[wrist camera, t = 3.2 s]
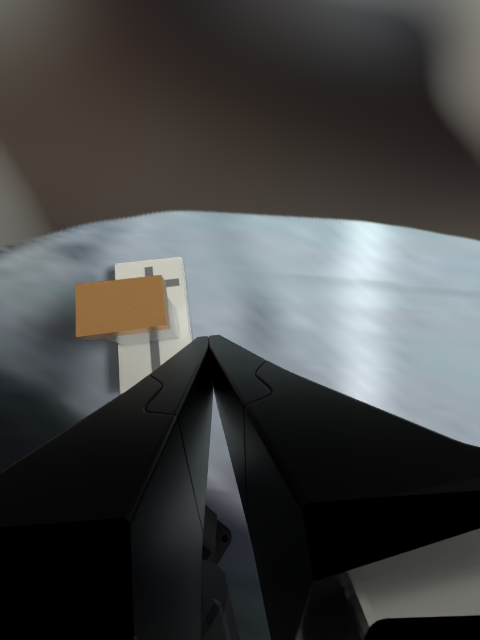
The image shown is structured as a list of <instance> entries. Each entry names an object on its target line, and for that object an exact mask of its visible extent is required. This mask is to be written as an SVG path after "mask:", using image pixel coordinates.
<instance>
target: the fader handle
mask: <svg viewBox="0 0 480 640" xmlns="http://www.w3.org/2000/svg"><path fill="white" fill-rule="evenodd" d="M76 337H77V338H81V339H84V340H94V339H102V338H105V339H108V340H111V341H114V342H117V343H120V344H122V345H125V346H130V345H137V344H144V343H151V342H159V341H166V340H173V339H180V334H179V324H178V314H177V310H176V308H175V307H174V305H173V304H172V302H171V301H170V299H169V298H168V296H167V289H166V282H165V280H164V278H163V277H162V275H154V276H146V277H137V278H128V279H119V280H110V281H101V282H92V283H84V284H76Z"/></svg>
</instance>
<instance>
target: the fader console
mask: <svg viewBox="0 0 480 640" xmlns="http://www.w3.org/2000/svg"><path fill="white" fill-rule="evenodd" d="M154 275H162V277H163V278H164V280H165V282H166V289H167V296H168V298H169V299H170V301H171V302H172V304H173V305H174V307H175V308H176V310H177V314H178V324H179V334H180V339H173V340H166V341H159V342H151V343H144V344H137V345H130V346H125V345H122V344H120V343H118V355H119V379H120V394H121V393H124V392H125V391H127V390H128V389H130V388H131V387H132V386H134V385H135V384H137V383H138V382H139V381H141V380H142V379H143V378H145V377H146V376H147V375H149V374H150V373H152V372H153V371H154V370H156V369H157V368H158V367H159V366H161V365H162V364H163V363H165V362H166V361H167V360H169V359H170V358H171V357H172V356H174V355H175V354H176V353H178V352H179V351H180V350H181V349H183V348H184V347H185V346H187V345H188V344H189V343H191V342H192V336H191V327H190V318H189V309H188V299H187V290H186V281H185V272H184V264H183V261H182V258H181V257H175V258H165V259H156V260H146V261H137V262H128V263H118V264H115V280H119V279H128V278H137V277H146V276H154Z"/></svg>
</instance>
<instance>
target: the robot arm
mask: <svg viewBox="0 0 480 640" xmlns="http://www.w3.org/2000/svg"><path fill="white" fill-rule="evenodd" d="M213 388H214V394H215V398H216V402H217V406H218V410H219V414H220V418H221V422H222V426H223V430H224V434H225V438H226V442H227V446H228V450H229V454H230V458H231V462H232V466H233V470H234V474H235V478H236V482H237V486H238V490H239V494H240V498H241V502H242V506H243V510H244V514H245V518H246V522H247V524H248V530H249V534H250V538H251V543H252V547H253V551H254V556H255V561H256V566H257V571H258V576H259V581H260V586H261V591H262V596H263V601H264V606H265V611H266V616H267V621H268V626H269V631H270V636H271V640H480V447H477V446H473V445H469V444H465V443H462V442H460V441H457V440H454V439H452V438H449V437H447V436H444V435H442V434H439V433H437V432H435V431H432V430H430V429H427V428H425V427H422V426H420V425H418V424H415V423H413V422H410V421H408V420H405V419H403V418H401V417H398V416H396V415H393V414H391V413H388V412H386V411H384V410H381V409H379V408H376V407H374V406H371V405H369V404H367V403H364V402H362V401H359V400H357V399H354V398H352V397H350V396H347V395H345V394H342V393H340V392H337V391H335V390H333V389H330V388H328V387H325V386H323V385H320V384H318V383H316V382H313V381H311V380H308V379H306V378H303V377H301V376H299V375H296V374H294V373H292V372H289V371H287V370H285V369H283V368H281V367H279V366H277V365H275V364H273V363H271V362H269V361H267V360H265V359H263V358H261V357H259V356H257V355H256V354H254V353H252V352H250V351H248V350H246V349H244V348H243V347H241V346H239V345H237V344H235V343H233V342H232V341H230V340H228V339H226V338H224V337H222V336H220V335H213V336H209V338H208V337H207V336H203V337H197V338H196V339H194V340H193V341H192V342H191V343H189V344H188V345H187V346H185V347H184V348H183V349H181V350H180V351H179V352H178V353H176V354H175V355H174V356H172V357H171V358H170V359H169V360H167V361H166V362H165V363H163V364H162V365H161V366H159V367H158V368H157V369H156V370H154V371H153V372H152V373H150V374H149V375H147V376H146V377H145V378H143V379H142V380H141V381H139V382H138V383H137V384H135V385H134V386H132V387H131V388H130V389H128V390H127V391H125V392H124V393H122V394H121V395H119V396H118V397H116V398H115V399H113V400H112V401H110V402H109V403H107V404H106V405H104V406H103V407H101V408H99V409H98V410H96V411H95V412H93V413H92V414H90V415H89V416H87V417H86V418H84V419H82V420H81V421H79V422H78V423H76V424H75V425H73V426H72V427H70V428H68V429H67V430H65V431H64V432H62V433H61V434H59V435H58V436H56V437H54V438H53V439H51V440H50V441H48V442H47V443H45V444H44V445H42V446H40V447H39V448H37V449H36V450H34V451H33V452H31V453H30V454H28V455H26V456H25V457H23V458H22V459H20V460H19V461H17V462H16V463H14V464H12V465H11V466H9V467H8V468H6V469H5V470H3V471H2V472H0V640H240V639H239V635H238V630H237V626H236V621H235V617H234V613H233V608H232V604H231V599H230V595H229V590H228V586H227V581H226V577H225V574H224V573H223V571H222V570H221V569H220V568H219V567H218V565H217V564H218V562H219V561H220V559H221V557H222V556H223V554H224V552H225V551H226V549H227V548H228V546H229V544H230V542H231V538H232V537H231V531H230V530H229V529H228V528H227V527H226V526H224V525H223V524H222V523H221V522H220V521H218V520H217V515H216V514H215V513H214V512H213V511H212V510H210V509H209V508H208V507H207V506H206V505H205V500H206V487H207V473H208V459H209V445H210V431H211V418H212V404H213ZM223 535H227V536H228V538H227V539H223V538H222V536H223Z"/></svg>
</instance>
